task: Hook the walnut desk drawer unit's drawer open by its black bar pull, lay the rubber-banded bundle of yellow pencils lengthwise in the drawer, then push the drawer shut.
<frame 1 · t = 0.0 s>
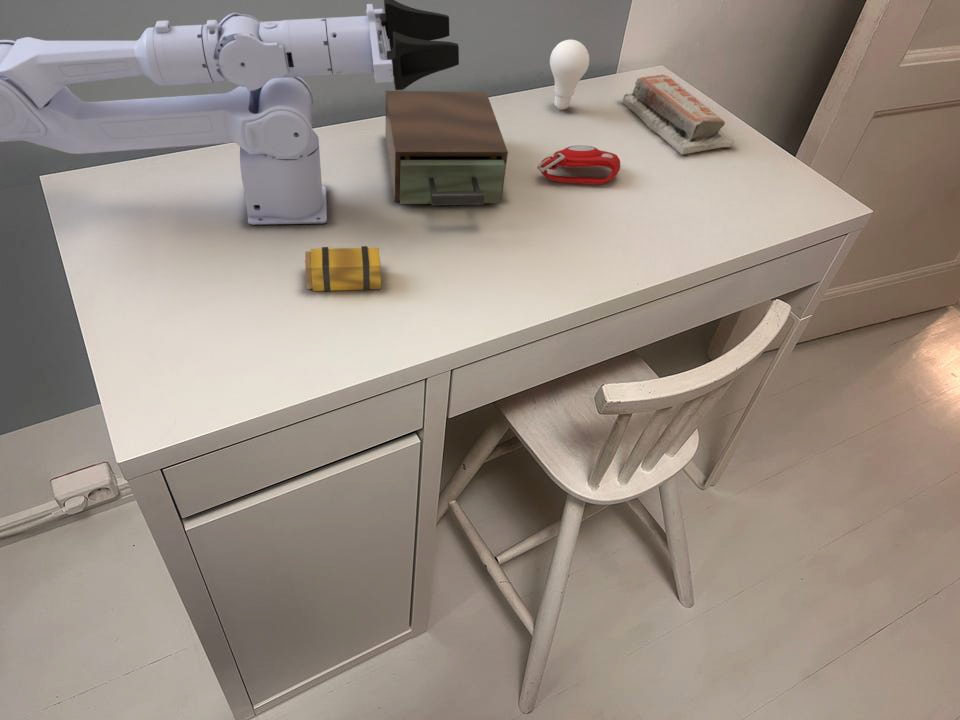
hand: (453, 39, 81), 22 cm above the table, tool horizontal, fingers open, 7 cm apart
drawer: (447, 162, 97), point 4 cm above the table, slide at 0.5 cm
cabinet: (441, 168, 102), on the table
packaged product: (673, 126, 119), on the table
pencil bundle: (346, 280, 84), on the table
tracker holder: (571, 173, 105), on the table
lightbulb: (560, 110, 119), on the table
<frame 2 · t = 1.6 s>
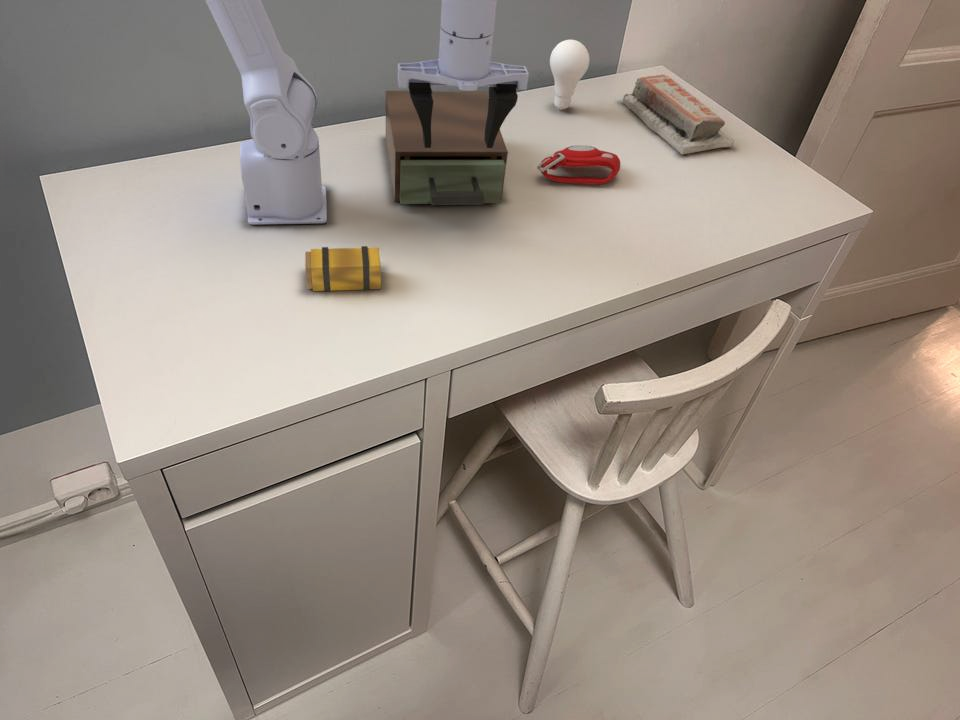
hand: (457, 143, 87), 10 cm above the table, tool pointing down, fingers open, 7 cm apart
nothing on the table moved.
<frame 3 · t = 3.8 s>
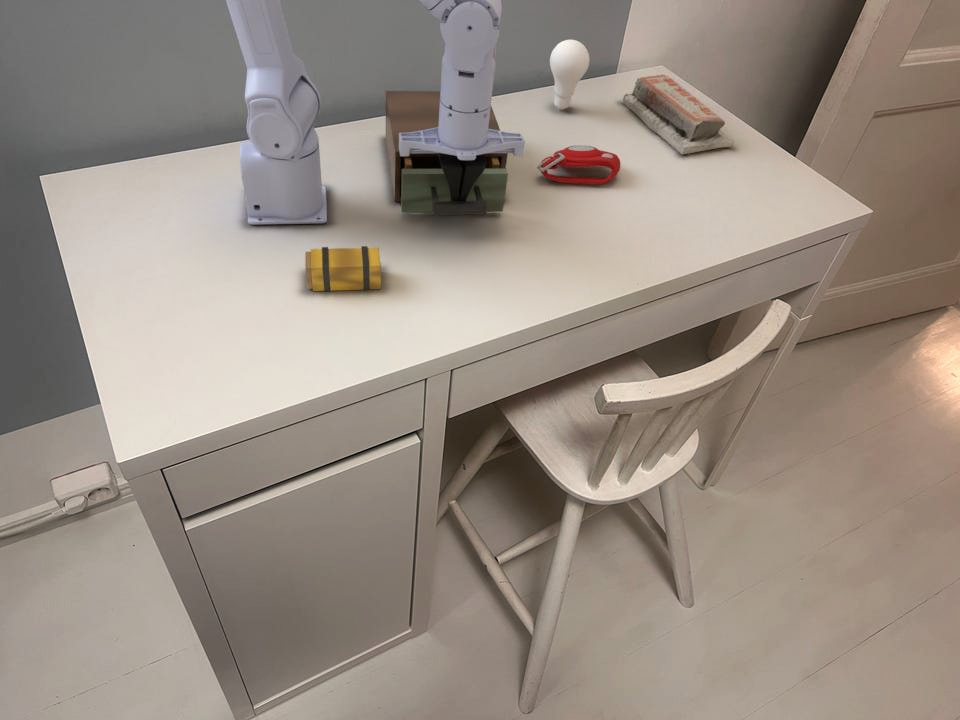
hand: (456, 204, 90), 3 cm above the table, tool pointing down, fingers closed, pressing on drawer
drawer: (449, 171, 95), point 4 cm above the table, slide at 2.6 cm, touching gripper
everything else where it was.
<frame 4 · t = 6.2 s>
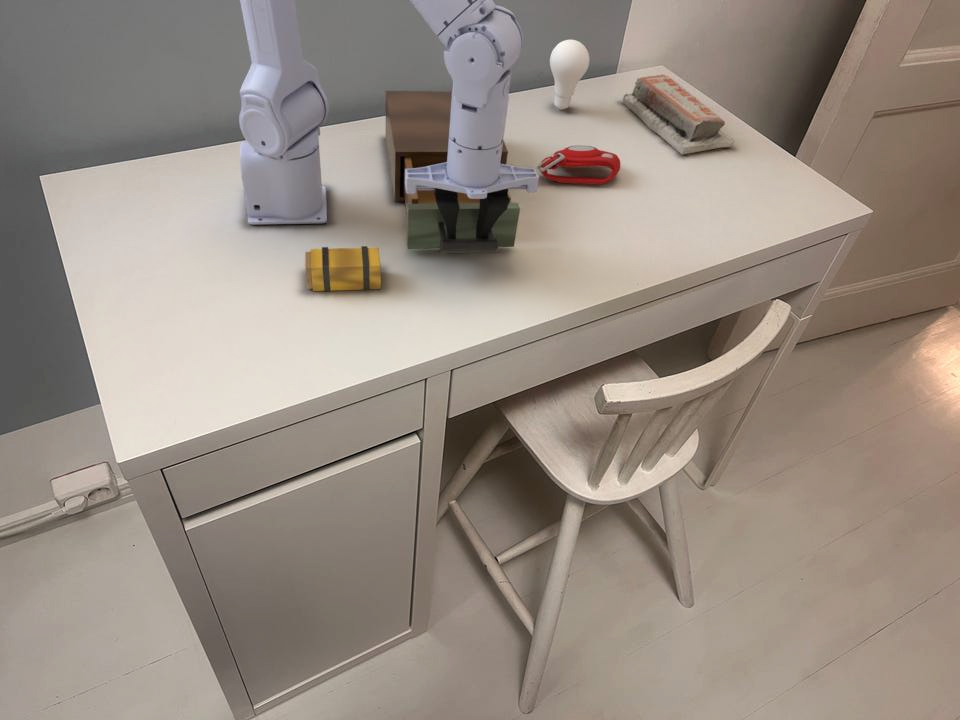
hand: (465, 241, 85), 3 cm above the table, tool pointing down, fingers closed on drawer, 3 cm apart
drawer: (457, 204, 90), point 4 cm above the table, slide at 10.1 cm, touching gripper
everything else where it was.
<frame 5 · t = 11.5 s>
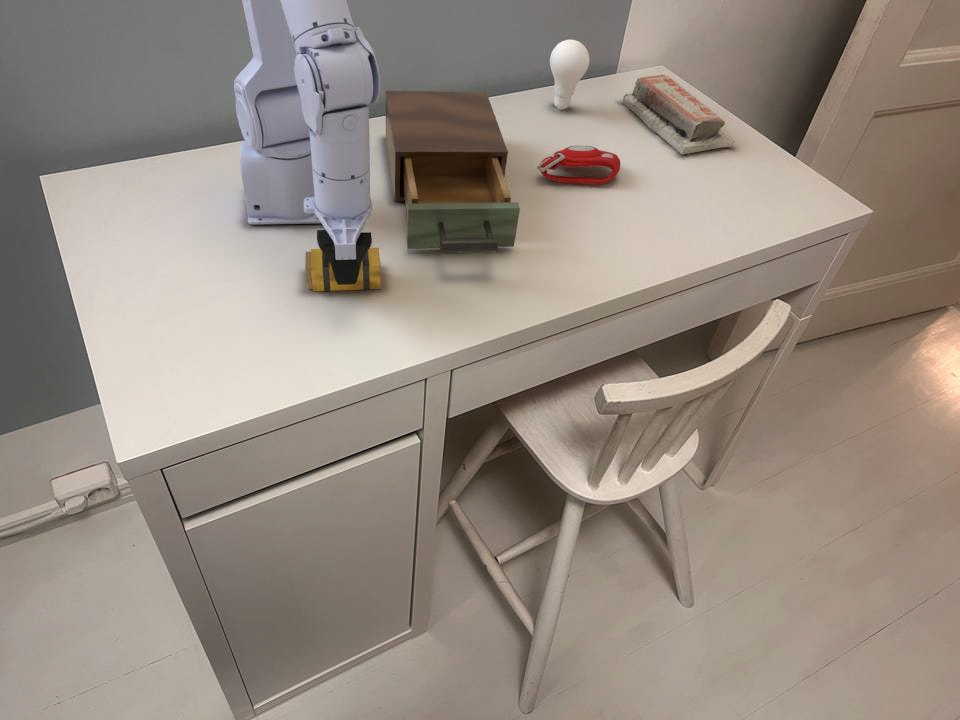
hand: (346, 271, 83), 1 cm above the table, tool pointing down, fingers closed on pencil bundle, 3 cm apart
drawer: (457, 203, 90), point 4 cm above the table, slide at 10.1 cm
pencil bundle: (346, 280, 84), on the table, touching gripper
everything else where it was.
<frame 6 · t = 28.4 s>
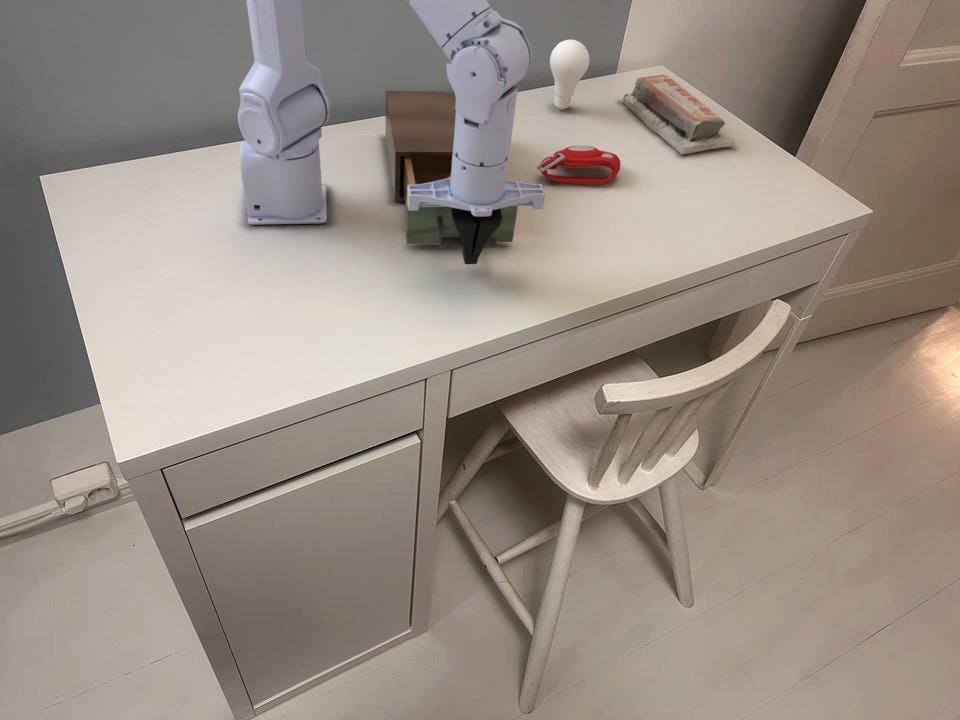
hand: (469, 258, 83), 3 cm above the table, tool pointing down, fingers closed, pressing on drawer
drawer: (456, 199, 91), point 4 cm above the table, slide at 9.1 cm, touching gripper, pencil bundle
pencil bundle: (454, 206, 93), point 2 cm above the table, touching drawer
everything else where it was.
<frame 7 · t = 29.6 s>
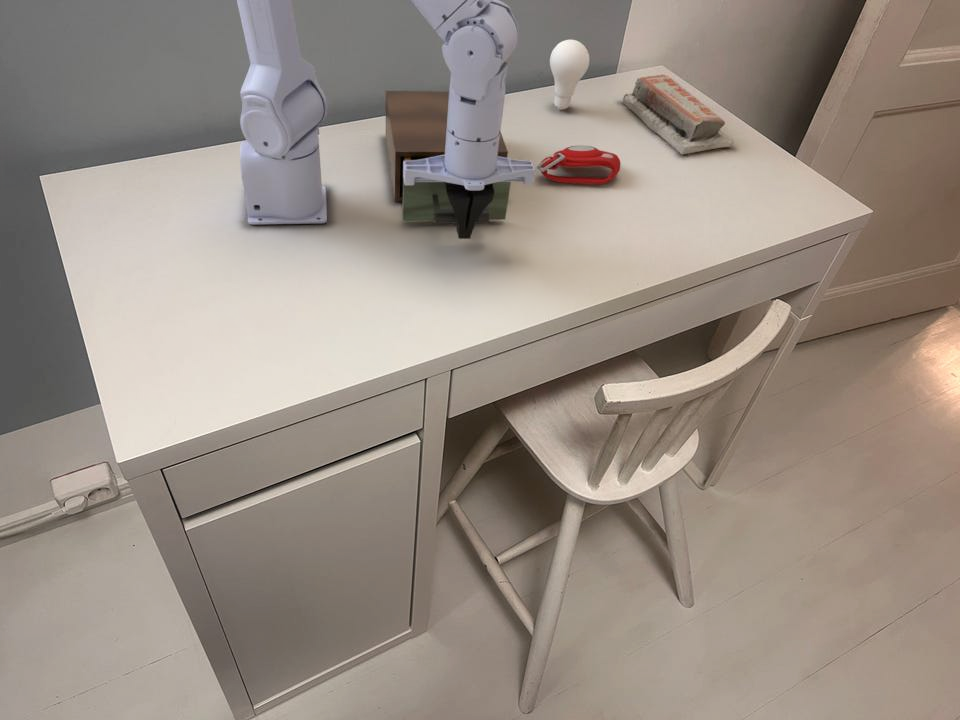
hand: (463, 233, 86), 3 cm above the table, tool pointing down, fingers closed, pressing on drawer
drawer: (450, 178, 94), point 4 cm above the table, slide at 4.3 cm, touching gripper, pencil bundle
pencil bundle: (449, 186, 96), point 2 cm above the table, touching drawer
everything else where it was.
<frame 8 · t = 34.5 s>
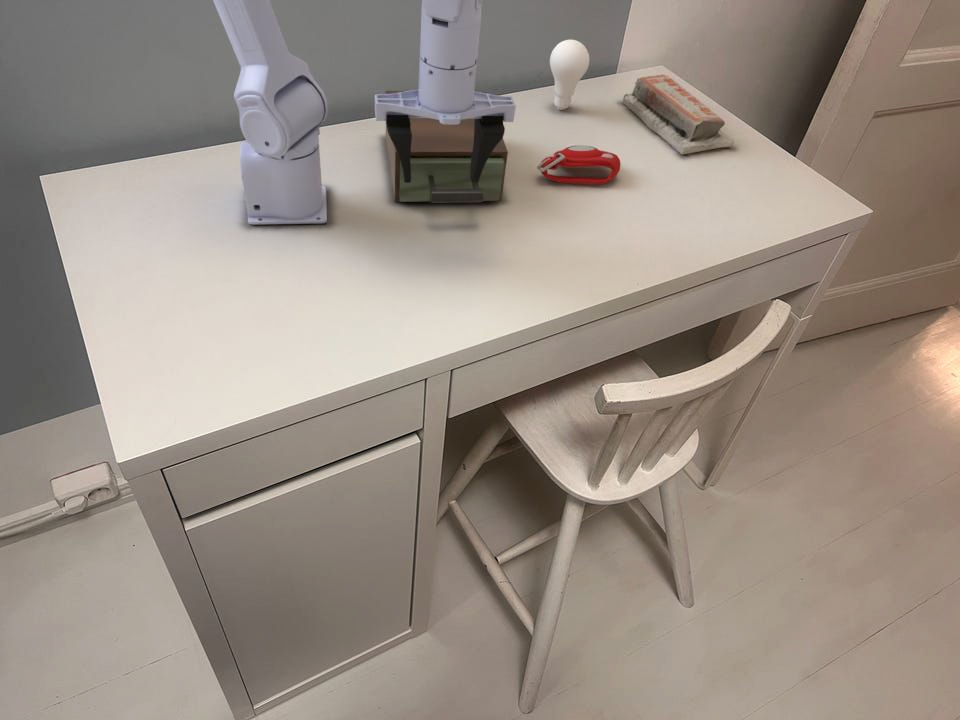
hand: (440, 177, 82), 10 cm above the table, tool pointing down, fingers open, 7 cm apart
drawer: (446, 161, 97), point 4 cm above the table, slide at 0.0 cm, touching cabinet, pencil bundle
pencil bundle: (445, 168, 99), point 2 cm above the table, touching drawer
everything else where it was.
at the end: drawer pulled out 10.1 cm at the most during the clip, back to where it started at the end; pencil bundle inside the target area in the cabinet (3.1 cm from its centre), point 1.9 cm above the cabinet's base; drawer slide at 0.0 cm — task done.
